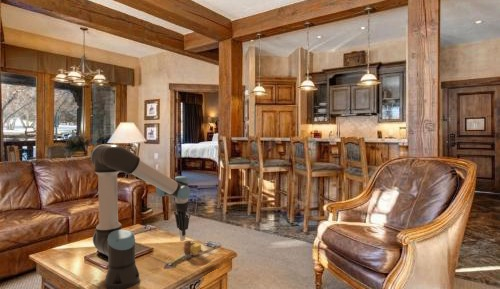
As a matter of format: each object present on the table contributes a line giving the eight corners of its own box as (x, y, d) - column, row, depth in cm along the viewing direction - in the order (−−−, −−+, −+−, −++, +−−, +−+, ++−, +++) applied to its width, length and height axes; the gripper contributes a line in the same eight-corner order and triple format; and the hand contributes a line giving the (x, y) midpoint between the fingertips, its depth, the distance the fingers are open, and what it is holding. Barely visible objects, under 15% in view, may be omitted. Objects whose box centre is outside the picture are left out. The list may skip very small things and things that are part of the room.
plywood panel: (201, 260, 168) (201, 258, 168) (180, 252, 179) (180, 250, 179) (219, 252, 179) (219, 250, 179) (199, 245, 190) (199, 243, 190)
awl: (187, 261, 167) (186, 243, 166) (183, 259, 169) (183, 242, 169) (192, 259, 170) (191, 241, 169) (188, 257, 172) (187, 240, 171)
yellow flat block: (193, 253, 175) (193, 247, 175) (184, 249, 181) (184, 244, 180) (201, 249, 180) (201, 244, 180) (192, 246, 185) (192, 241, 185)
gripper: (193, 202, 184) (194, 240, 185) (180, 199, 192) (180, 236, 193) (183, 205, 178) (184, 244, 179) (170, 201, 186) (171, 239, 188)
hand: (182, 240), depth 186 cm, fingers closed
